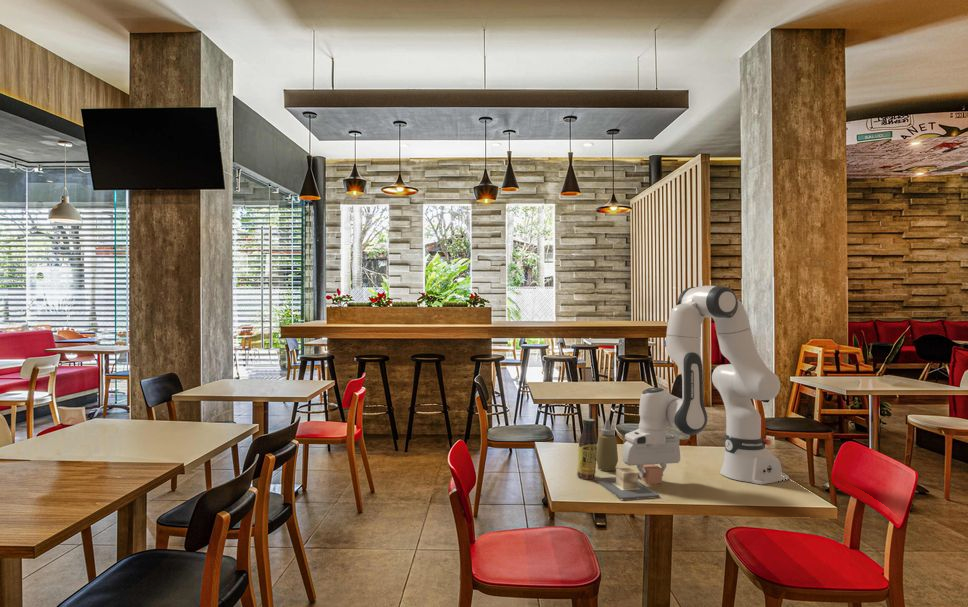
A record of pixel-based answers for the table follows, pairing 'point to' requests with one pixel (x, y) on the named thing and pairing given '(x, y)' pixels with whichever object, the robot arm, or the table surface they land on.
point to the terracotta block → (652, 474)
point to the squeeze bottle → (607, 449)
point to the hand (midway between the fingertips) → (651, 476)
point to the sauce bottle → (587, 451)
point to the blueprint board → (626, 493)
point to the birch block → (626, 478)
